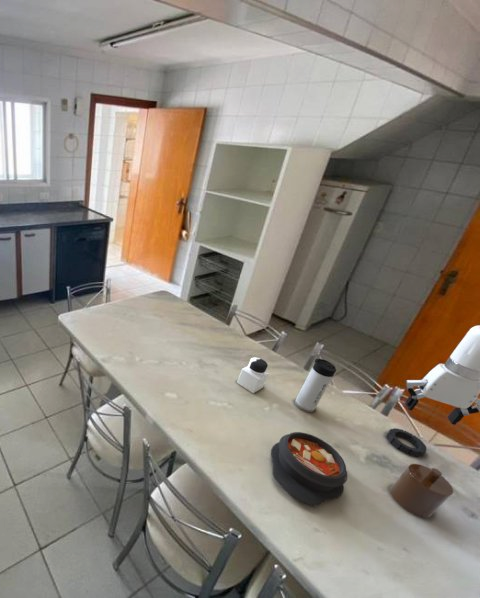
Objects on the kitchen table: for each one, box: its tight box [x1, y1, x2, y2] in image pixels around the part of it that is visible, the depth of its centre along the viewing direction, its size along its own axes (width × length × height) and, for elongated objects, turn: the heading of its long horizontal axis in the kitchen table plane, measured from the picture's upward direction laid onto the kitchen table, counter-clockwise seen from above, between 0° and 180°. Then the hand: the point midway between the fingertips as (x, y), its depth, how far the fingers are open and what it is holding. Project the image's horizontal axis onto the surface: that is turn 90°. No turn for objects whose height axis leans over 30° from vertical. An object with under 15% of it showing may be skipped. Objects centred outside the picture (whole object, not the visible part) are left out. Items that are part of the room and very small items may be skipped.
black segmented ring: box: [385, 427, 427, 458], centre depth 108 cm, size 9×9×2 cm
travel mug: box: [294, 358, 337, 413], centre depth 117 cm, size 6×7×20 cm
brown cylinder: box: [389, 463, 454, 519], centre depth 88 cm, size 9×9×13 cm
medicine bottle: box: [236, 357, 270, 394], centre depth 127 cm, size 7×7×12 cm
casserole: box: [270, 431, 348, 507], centre depth 95 cm, size 25×19×8 cm
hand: (429, 414), depth 97 cm, fingers open, 9 cm apart
